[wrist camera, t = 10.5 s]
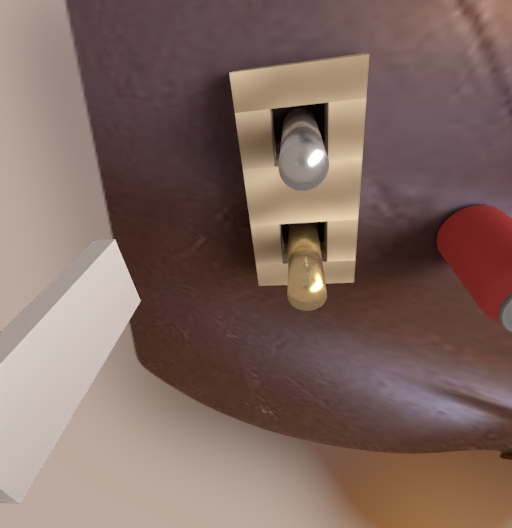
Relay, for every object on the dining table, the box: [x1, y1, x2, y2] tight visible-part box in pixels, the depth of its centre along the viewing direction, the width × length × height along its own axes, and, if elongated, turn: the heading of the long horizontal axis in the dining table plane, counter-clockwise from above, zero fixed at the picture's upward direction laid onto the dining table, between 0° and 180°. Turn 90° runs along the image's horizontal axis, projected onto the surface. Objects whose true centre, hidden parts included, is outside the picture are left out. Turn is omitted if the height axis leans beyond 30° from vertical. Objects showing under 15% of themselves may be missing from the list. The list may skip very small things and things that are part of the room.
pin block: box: [229, 53, 369, 286], centre depth 30 cm, size 20×10×4 cm, turn 7°
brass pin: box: [288, 222, 327, 311], centre depth 30 cm, size 3×3×12 cm
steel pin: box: [278, 108, 329, 191], centre depth 24 cm, size 3×3×12 cm
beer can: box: [436, 205, 512, 333], centre depth 28 cm, size 7×7×12 cm
